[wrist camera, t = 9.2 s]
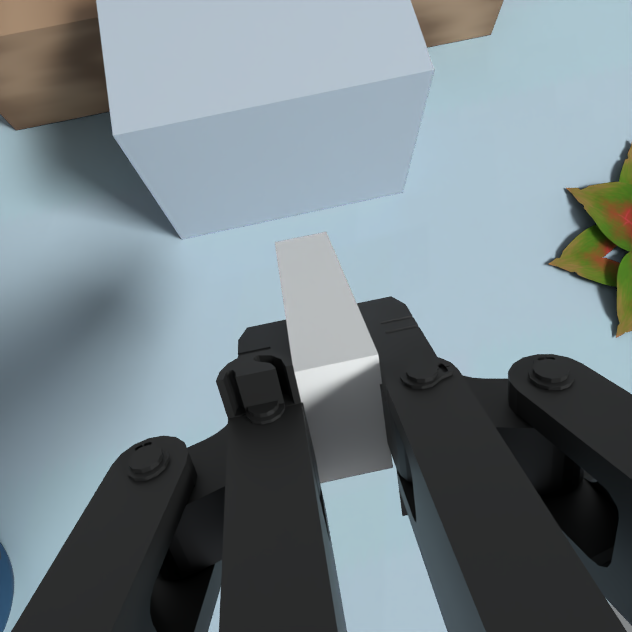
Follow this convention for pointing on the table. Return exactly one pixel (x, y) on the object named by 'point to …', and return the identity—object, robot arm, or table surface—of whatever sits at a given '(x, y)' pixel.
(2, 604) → the soda can
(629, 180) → the lily flower
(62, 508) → the table surface
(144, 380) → the table surface
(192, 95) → the white block
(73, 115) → the walnut board
